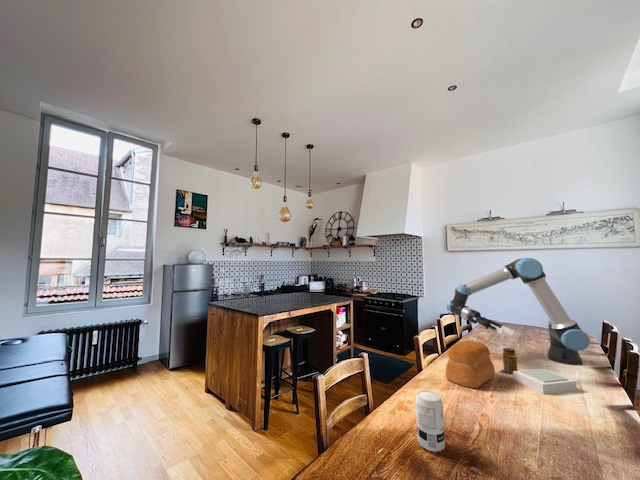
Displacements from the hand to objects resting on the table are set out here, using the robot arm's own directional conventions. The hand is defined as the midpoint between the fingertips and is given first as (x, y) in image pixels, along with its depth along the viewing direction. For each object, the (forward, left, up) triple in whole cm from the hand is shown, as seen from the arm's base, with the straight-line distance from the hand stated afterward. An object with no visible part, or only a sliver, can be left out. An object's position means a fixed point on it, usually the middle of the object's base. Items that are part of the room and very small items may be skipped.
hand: (508, 332), depth 145 cm
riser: (0, +18, -20) cm, 27 cm away
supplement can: (+77, +46, -20) cm, 92 cm away
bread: (+28, +4, -20) cm, 35 cm away
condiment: (+3, +2, -20) cm, 21 cm away
